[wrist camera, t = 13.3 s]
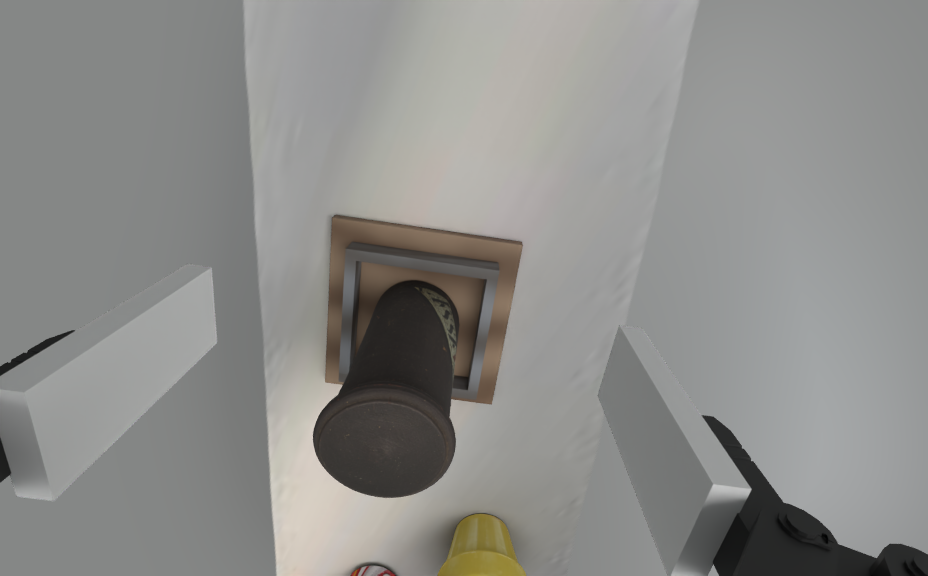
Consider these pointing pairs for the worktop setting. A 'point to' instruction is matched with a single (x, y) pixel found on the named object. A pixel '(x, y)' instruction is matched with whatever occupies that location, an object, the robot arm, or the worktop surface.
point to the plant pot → (481, 549)
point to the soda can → (372, 571)
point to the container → (395, 398)
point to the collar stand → (429, 260)
